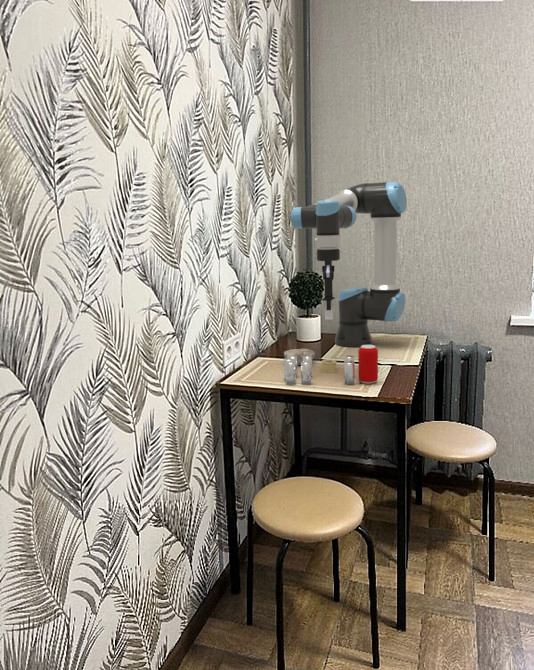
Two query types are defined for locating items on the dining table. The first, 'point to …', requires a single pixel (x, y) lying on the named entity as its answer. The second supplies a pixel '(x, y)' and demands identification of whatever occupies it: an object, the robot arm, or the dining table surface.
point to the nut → (328, 366)
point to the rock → (299, 354)
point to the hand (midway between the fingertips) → (328, 319)
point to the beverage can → (368, 364)
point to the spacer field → (306, 370)
